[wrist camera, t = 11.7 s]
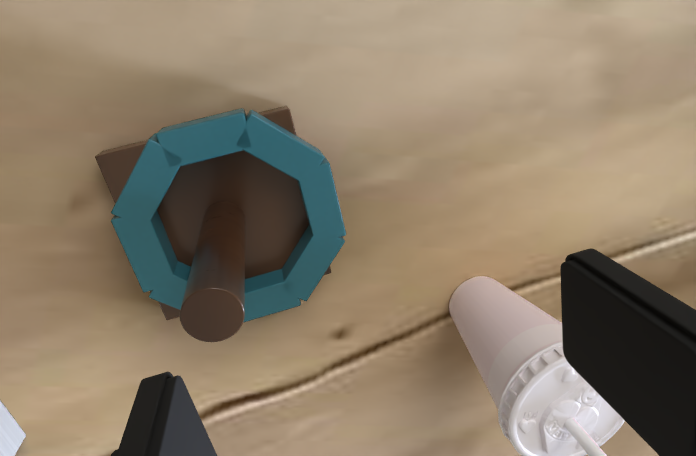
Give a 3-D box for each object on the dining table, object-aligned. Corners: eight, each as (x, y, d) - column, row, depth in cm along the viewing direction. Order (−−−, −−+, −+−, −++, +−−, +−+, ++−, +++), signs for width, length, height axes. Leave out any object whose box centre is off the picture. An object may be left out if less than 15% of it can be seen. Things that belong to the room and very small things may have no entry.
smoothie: (410, 327, 29) (538, 546, 16) (462, 240, 28) (649, 406, 15) (488, 356, 31) (655, 569, 18) (541, 277, 30) (763, 449, 17)
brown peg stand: (287, 105, 23) (315, 145, 14) (328, 263, 26) (372, 381, 17) (101, 151, 22) (-6, 227, 13) (169, 309, 25) (126, 459, 16)
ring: (308, 91, 22) (313, 94, 20) (352, 274, 26) (359, 288, 24) (91, 145, 21) (79, 152, 19) (171, 327, 25) (167, 345, 23)
